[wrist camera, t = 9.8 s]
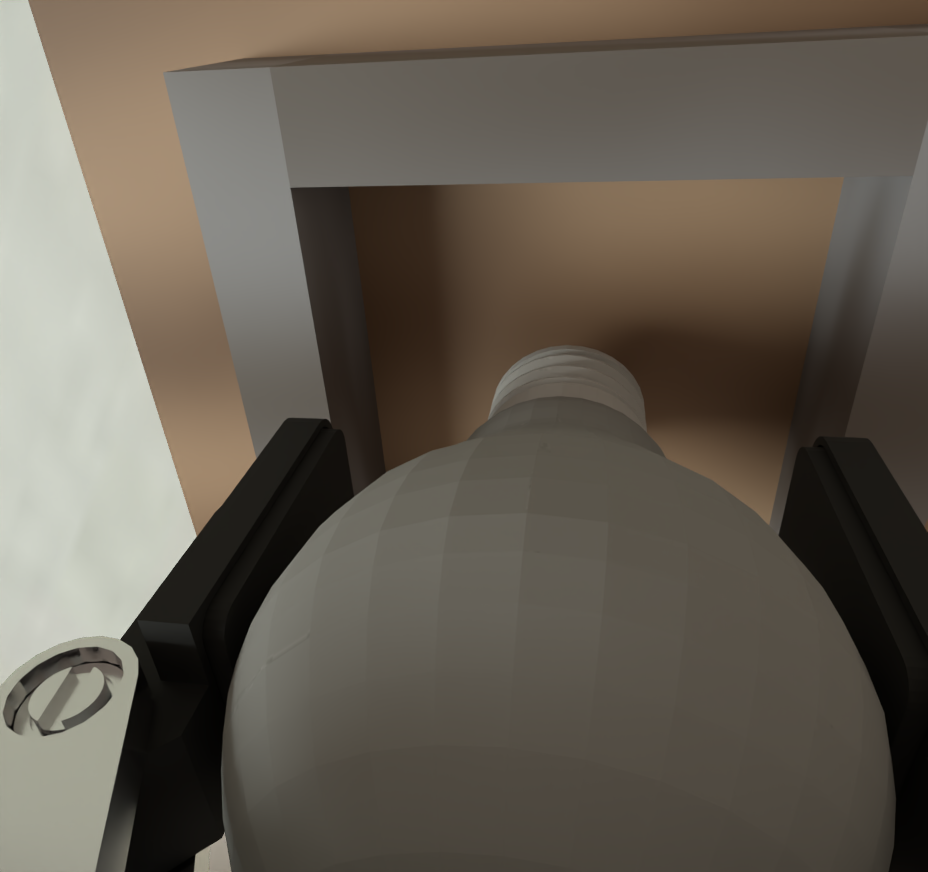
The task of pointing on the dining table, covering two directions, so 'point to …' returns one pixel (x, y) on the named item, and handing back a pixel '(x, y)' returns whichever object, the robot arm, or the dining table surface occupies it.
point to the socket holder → (512, 218)
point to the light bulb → (553, 668)
